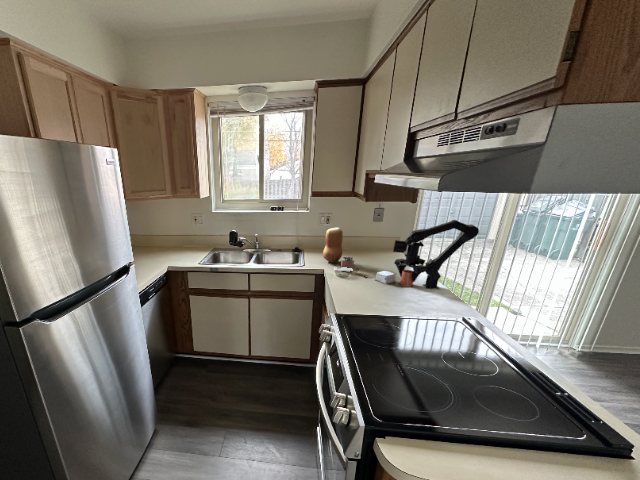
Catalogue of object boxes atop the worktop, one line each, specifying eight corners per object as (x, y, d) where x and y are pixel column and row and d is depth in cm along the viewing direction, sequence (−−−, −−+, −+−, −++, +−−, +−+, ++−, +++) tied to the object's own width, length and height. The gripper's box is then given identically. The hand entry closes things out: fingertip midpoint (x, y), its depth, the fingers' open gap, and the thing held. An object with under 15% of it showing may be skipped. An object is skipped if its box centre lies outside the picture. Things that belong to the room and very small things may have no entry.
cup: (414, 286, 184) (417, 273, 181) (402, 286, 184) (405, 273, 181) (409, 282, 190) (412, 269, 187) (398, 282, 190) (400, 269, 187)
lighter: (352, 270, 213) (354, 256, 209) (353, 272, 210) (355, 257, 206) (340, 270, 215) (342, 255, 211) (340, 271, 212) (342, 256, 208)
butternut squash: (319, 260, 238) (322, 226, 229) (336, 259, 241) (339, 225, 231) (327, 265, 226) (331, 229, 216) (345, 264, 228) (349, 229, 218)
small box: (375, 280, 195) (376, 272, 193) (384, 278, 198) (386, 270, 196) (385, 284, 188) (386, 275, 186) (395, 282, 191) (396, 273, 189)
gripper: (437, 256, 174) (431, 282, 180) (411, 248, 190) (406, 273, 196) (421, 257, 171) (415, 285, 177) (396, 250, 187) (391, 275, 193)
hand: (407, 279), depth 186 cm, fingers open, 9 cm apart
